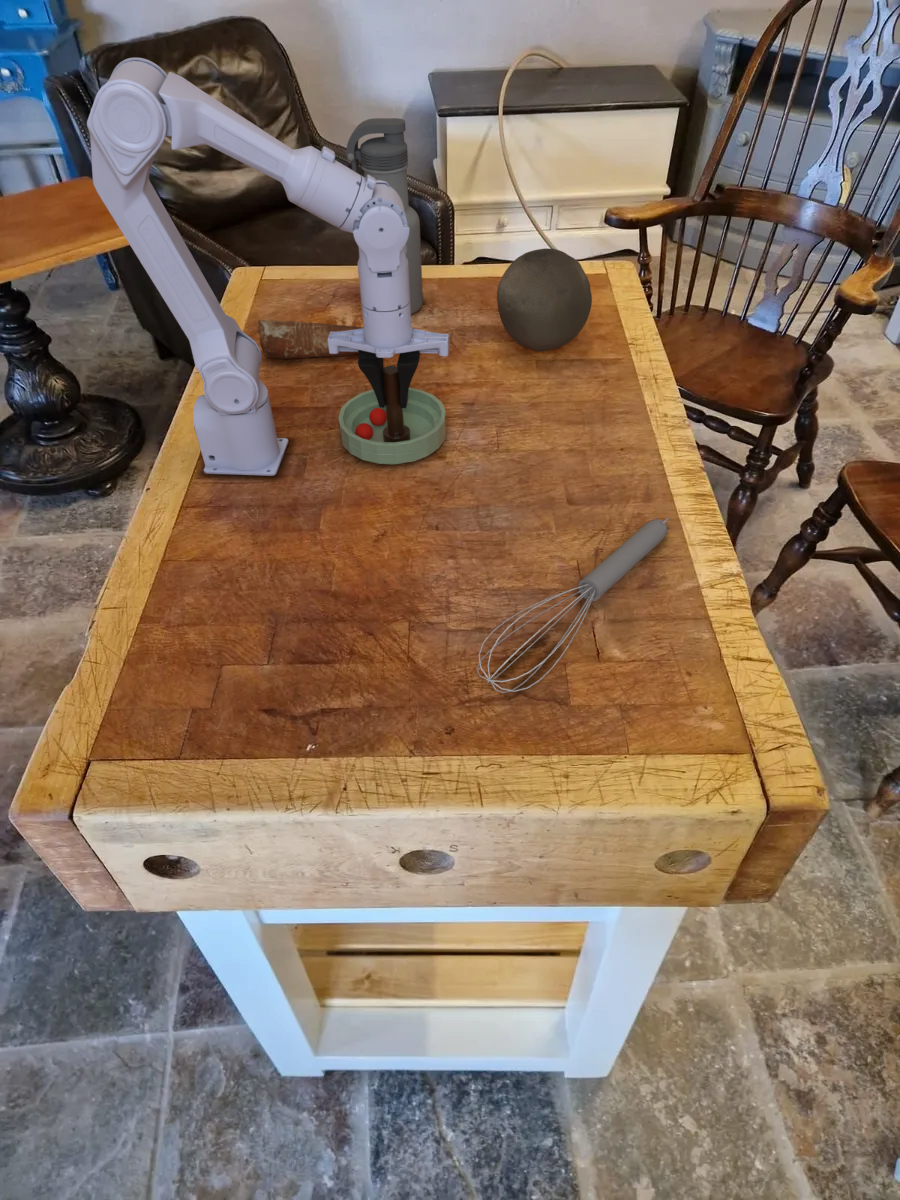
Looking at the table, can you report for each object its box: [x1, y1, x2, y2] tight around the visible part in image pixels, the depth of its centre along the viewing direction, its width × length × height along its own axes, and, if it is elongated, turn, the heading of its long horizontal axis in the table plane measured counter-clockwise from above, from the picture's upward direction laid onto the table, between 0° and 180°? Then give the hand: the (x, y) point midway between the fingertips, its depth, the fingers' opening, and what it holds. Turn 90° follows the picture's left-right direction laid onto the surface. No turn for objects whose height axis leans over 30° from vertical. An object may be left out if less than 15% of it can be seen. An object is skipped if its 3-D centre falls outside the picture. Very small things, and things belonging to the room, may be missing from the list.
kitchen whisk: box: [476, 516, 671, 694], centre depth 83 cm, size 6×34×6 cm, turn 140°
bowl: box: [337, 387, 447, 465], centre depth 107 cm, size 14×14×4 cm
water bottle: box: [346, 117, 424, 315], centre depth 126 cm, size 10×10×28 cm
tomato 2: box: [369, 408, 387, 426], centre depth 109 cm, size 2×2×2 cm
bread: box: [257, 319, 364, 360], centre depth 123 cm, size 6×19×6 cm, turn 92°
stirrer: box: [382, 365, 411, 442], centre depth 103 cm, size 4×4×10 cm
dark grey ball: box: [496, 247, 593, 353], centre depth 120 cm, size 14×14×15 cm
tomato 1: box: [355, 423, 373, 440], centre depth 106 cm, size 2×2×2 cm
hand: (393, 403), depth 102 cm, fingers closed on stirrer, 2 cm apart
